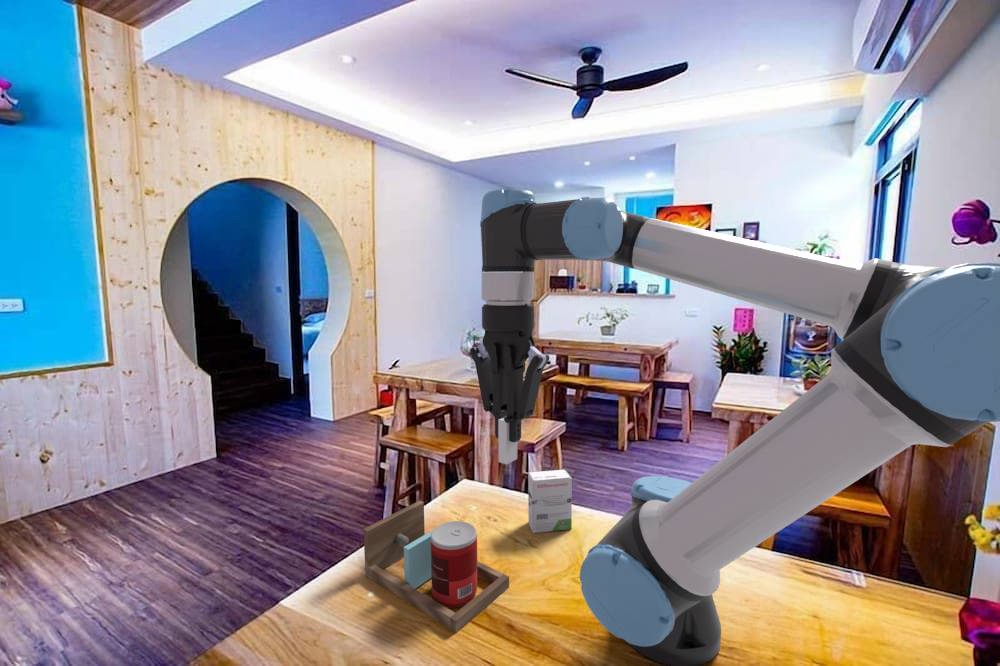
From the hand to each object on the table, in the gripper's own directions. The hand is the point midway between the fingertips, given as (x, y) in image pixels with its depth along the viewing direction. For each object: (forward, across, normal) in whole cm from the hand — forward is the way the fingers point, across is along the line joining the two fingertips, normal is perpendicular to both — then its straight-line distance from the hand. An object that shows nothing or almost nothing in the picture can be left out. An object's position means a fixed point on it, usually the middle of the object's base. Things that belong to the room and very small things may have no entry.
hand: (508, 460), depth 71 cm
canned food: (+27, +11, 0) cm, 29 cm away
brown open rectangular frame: (+26, +16, 0) cm, 31 cm away
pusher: (+26, +19, 0) cm, 32 cm away
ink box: (+27, +10, -28) cm, 40 cm away
